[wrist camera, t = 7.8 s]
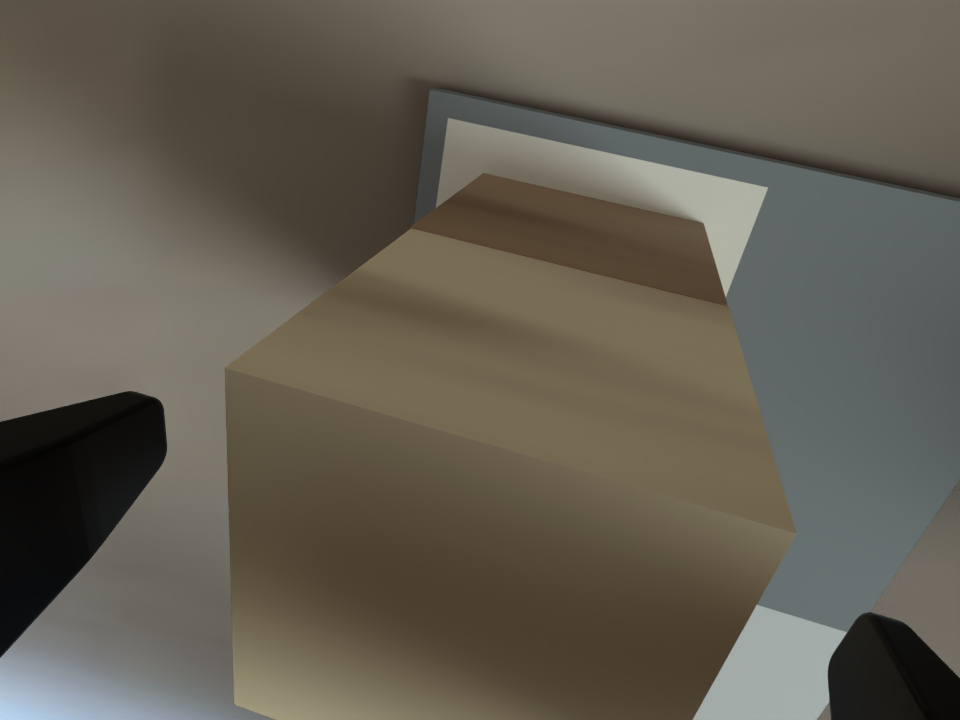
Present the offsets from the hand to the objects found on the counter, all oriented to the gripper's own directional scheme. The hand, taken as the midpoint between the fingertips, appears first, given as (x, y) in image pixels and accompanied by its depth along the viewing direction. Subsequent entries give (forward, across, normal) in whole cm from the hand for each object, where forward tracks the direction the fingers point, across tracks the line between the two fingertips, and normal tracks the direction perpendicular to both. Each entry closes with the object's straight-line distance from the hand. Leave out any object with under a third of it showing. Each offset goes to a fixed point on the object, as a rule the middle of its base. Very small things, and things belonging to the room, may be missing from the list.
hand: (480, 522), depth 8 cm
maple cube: (+3, 0, 0) cm, 3 cm away
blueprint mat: (+9, -3, +5) cm, 11 cm away
